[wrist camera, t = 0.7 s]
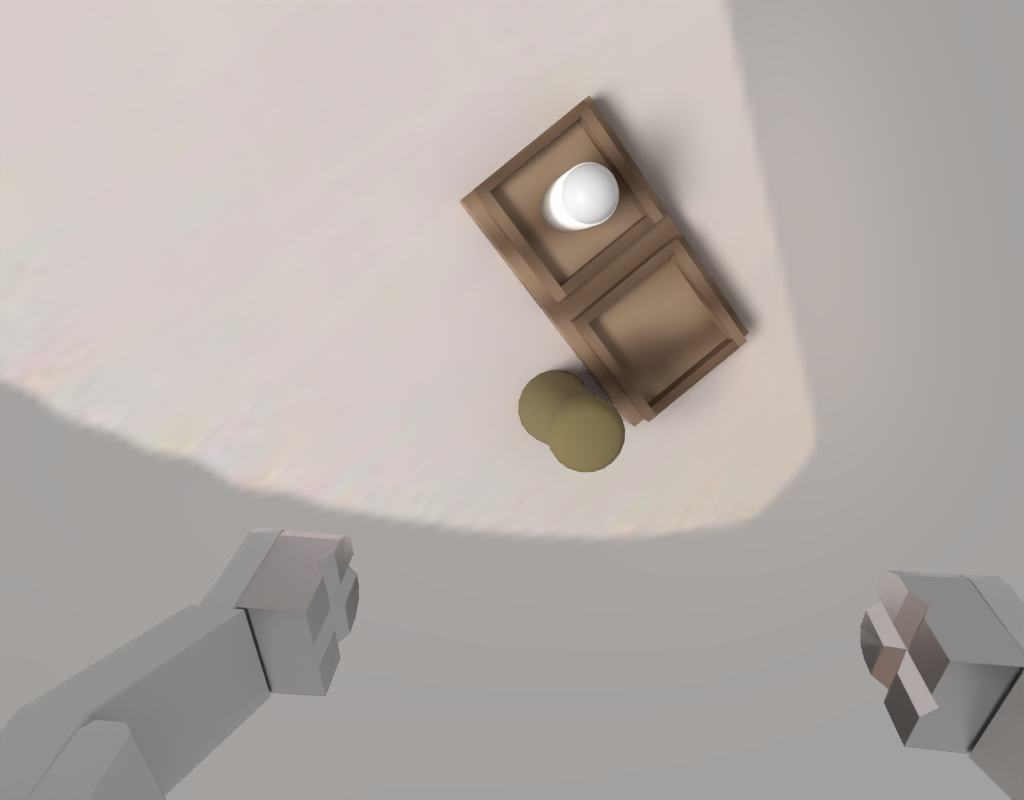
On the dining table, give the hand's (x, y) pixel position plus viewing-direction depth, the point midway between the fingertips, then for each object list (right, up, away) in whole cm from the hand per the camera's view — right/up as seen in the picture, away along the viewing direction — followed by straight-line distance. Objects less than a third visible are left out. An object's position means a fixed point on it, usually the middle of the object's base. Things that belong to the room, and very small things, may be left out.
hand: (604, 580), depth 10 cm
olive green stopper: (+2, +2, +41) cm, 41 cm away
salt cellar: (+3, +17, +37) cm, 41 cm away
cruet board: (+6, +13, +40) cm, 42 cm away
